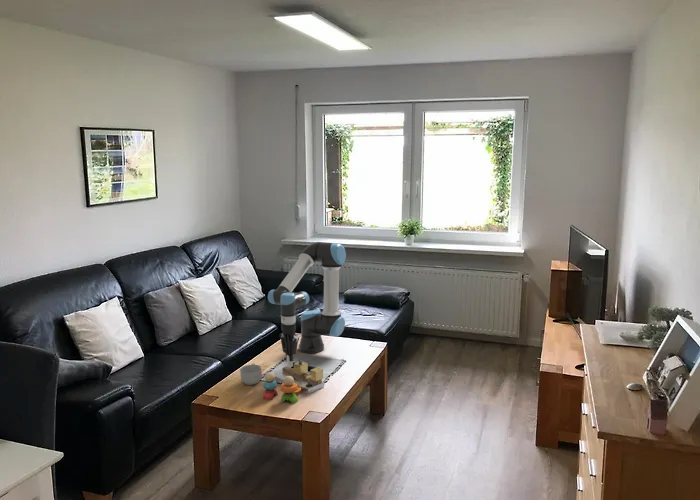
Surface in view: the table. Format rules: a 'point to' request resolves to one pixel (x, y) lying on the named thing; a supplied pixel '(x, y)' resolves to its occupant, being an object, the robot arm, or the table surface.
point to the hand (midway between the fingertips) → (289, 366)
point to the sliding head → (299, 368)
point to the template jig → (303, 379)
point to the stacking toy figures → (287, 387)
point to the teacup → (251, 374)
